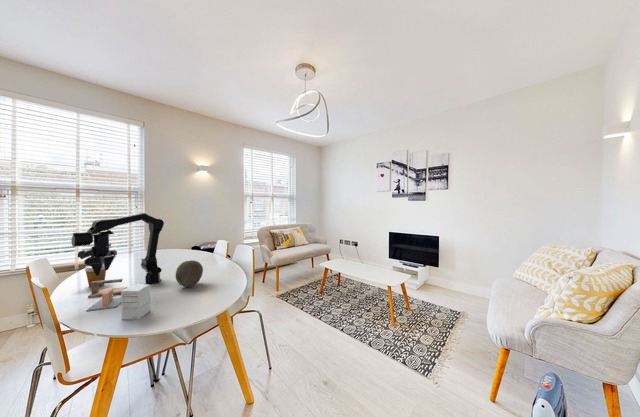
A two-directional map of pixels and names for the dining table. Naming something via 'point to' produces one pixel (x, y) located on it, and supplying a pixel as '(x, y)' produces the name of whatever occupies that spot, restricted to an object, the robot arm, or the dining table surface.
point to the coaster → (98, 305)
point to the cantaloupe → (189, 273)
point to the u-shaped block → (107, 297)
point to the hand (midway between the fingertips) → (102, 272)
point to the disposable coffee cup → (92, 276)
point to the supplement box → (135, 301)
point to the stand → (99, 293)
